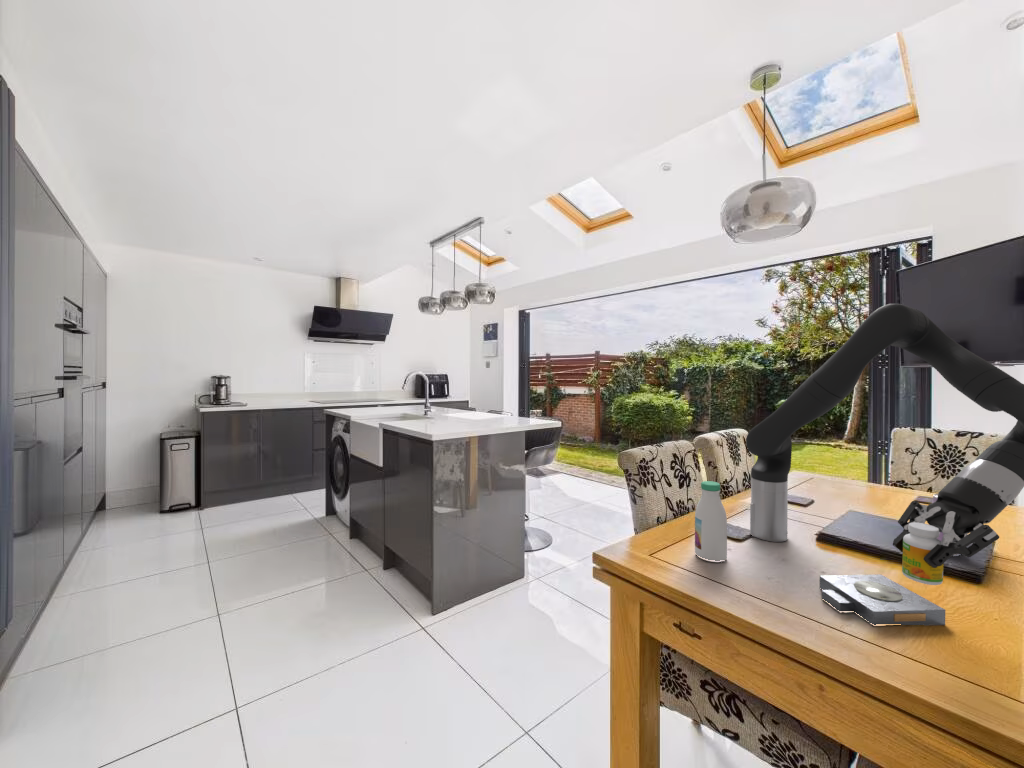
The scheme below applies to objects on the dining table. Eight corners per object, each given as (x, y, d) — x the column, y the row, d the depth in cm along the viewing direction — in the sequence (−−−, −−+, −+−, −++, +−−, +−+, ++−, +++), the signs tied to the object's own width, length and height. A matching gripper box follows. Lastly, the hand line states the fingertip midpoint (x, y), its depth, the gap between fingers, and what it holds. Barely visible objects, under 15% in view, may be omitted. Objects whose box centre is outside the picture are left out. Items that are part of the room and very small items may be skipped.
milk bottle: (730, 556, 112) (730, 482, 111) (721, 566, 106) (721, 488, 105) (700, 548, 117) (700, 477, 116) (690, 557, 111) (690, 483, 111)
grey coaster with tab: (859, 627, 81) (859, 610, 81) (806, 589, 95) (806, 574, 95) (945, 625, 81) (946, 608, 81) (880, 587, 95) (881, 573, 95)
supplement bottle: (893, 571, 79) (895, 521, 79) (920, 570, 80) (921, 520, 79) (923, 586, 74) (925, 532, 74) (951, 585, 75) (953, 531, 74)
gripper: (927, 466, 83) (865, 526, 84) (1013, 488, 69) (938, 560, 70) (952, 492, 84) (891, 552, 84) (1044, 519, 69) (969, 591, 70)
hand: (912, 555), depth 77 cm, fingers closed on supplement bottle, 5 cm apart
